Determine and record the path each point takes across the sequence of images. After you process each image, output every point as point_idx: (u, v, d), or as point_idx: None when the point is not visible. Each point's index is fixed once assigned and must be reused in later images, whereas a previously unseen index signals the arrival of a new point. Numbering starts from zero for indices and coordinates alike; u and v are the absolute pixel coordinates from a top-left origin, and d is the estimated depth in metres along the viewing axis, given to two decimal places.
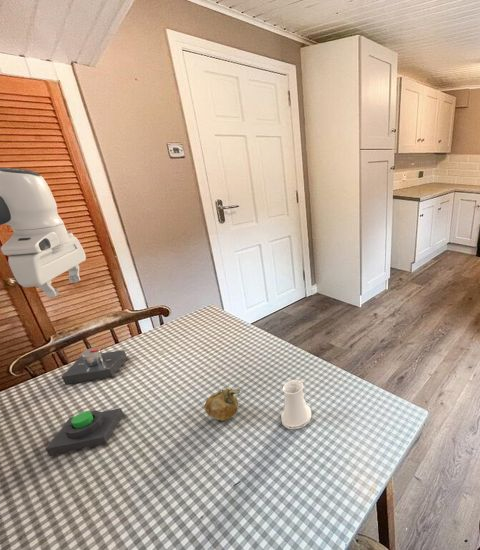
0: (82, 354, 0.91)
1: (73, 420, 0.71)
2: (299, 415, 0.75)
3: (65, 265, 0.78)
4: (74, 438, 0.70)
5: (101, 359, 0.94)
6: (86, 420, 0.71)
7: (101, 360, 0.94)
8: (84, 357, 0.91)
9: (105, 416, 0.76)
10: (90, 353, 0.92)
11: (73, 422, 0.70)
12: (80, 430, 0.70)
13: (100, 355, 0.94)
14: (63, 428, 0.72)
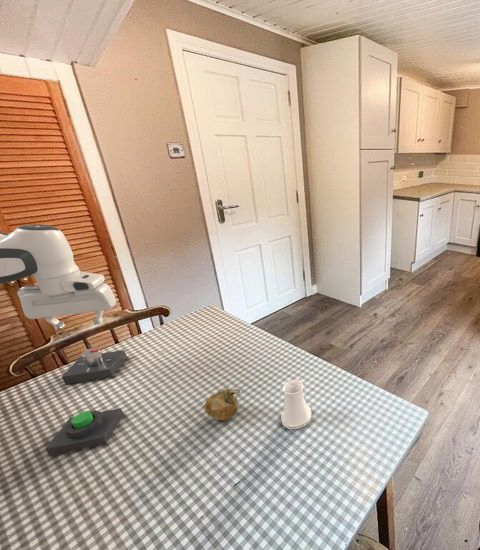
0: (82, 354, 0.91)
1: (73, 420, 0.71)
2: (299, 415, 0.75)
3: None
4: (74, 438, 0.70)
5: (101, 359, 0.94)
6: (86, 420, 0.71)
7: (101, 360, 0.94)
8: (84, 357, 0.91)
9: (105, 416, 0.76)
10: (90, 353, 0.92)
11: (73, 422, 0.70)
12: (80, 430, 0.70)
13: (100, 355, 0.94)
14: (63, 428, 0.72)
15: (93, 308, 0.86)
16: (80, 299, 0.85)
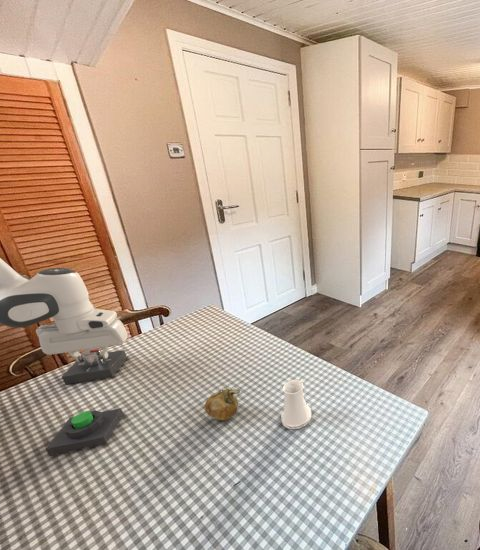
0: (82, 354, 0.91)
1: (73, 420, 0.71)
2: (299, 415, 0.75)
3: None
4: (74, 438, 0.70)
5: (101, 359, 0.94)
6: (86, 420, 0.71)
7: (101, 360, 0.94)
8: (84, 357, 0.91)
9: (105, 416, 0.76)
10: (90, 353, 0.92)
11: (73, 422, 0.70)
12: (80, 430, 0.70)
13: None
14: (63, 428, 0.72)
15: (106, 343, 0.91)
16: (94, 335, 0.90)
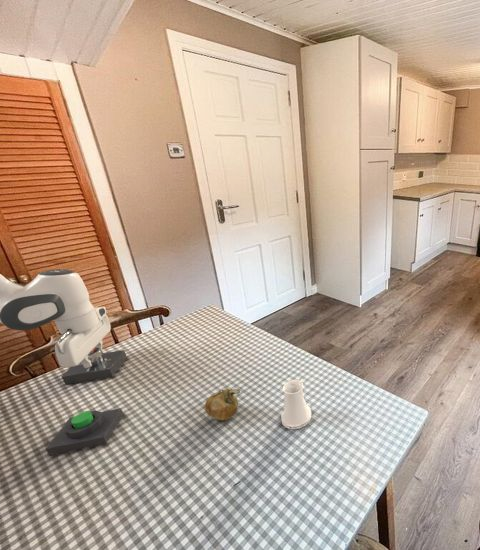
0: (91, 353, 0.91)
1: (73, 420, 0.71)
2: (299, 415, 0.75)
3: None
4: (74, 438, 0.70)
5: None
6: (86, 420, 0.71)
7: None
8: (97, 353, 0.93)
9: (105, 416, 0.76)
10: (95, 349, 0.93)
11: (73, 422, 0.70)
12: (80, 430, 0.70)
13: None
14: (63, 428, 0.72)
15: (104, 333, 0.97)
16: (96, 328, 0.94)
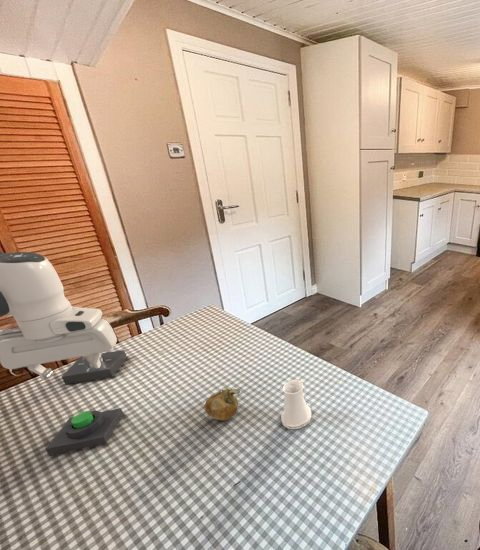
0: None
1: (73, 420, 0.71)
2: (299, 415, 0.75)
3: None
4: (74, 438, 0.70)
5: None
6: (86, 420, 0.71)
7: None
8: None
9: (105, 416, 0.76)
10: None
11: (73, 422, 0.70)
12: (80, 430, 0.70)
13: None
14: (63, 428, 0.72)
15: (90, 350, 0.71)
16: (73, 340, 0.69)
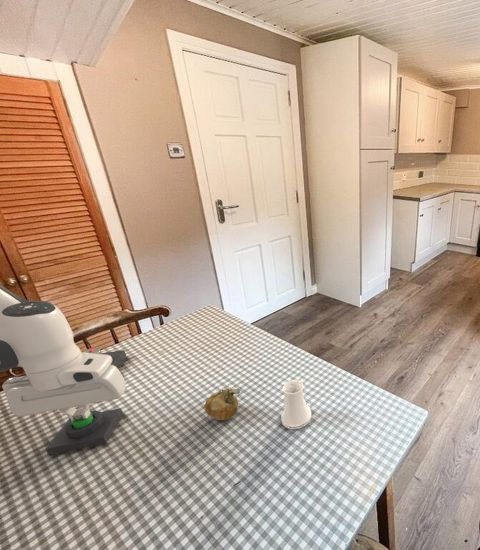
0: None
1: (73, 421, 0.71)
2: (299, 415, 0.75)
3: None
4: (74, 438, 0.70)
5: None
6: (86, 421, 0.71)
7: None
8: (97, 353, 0.93)
9: (105, 416, 0.76)
10: (95, 349, 0.93)
11: (73, 423, 0.70)
12: (80, 430, 0.70)
13: None
14: (63, 428, 0.72)
15: (98, 399, 0.69)
16: (82, 389, 0.68)
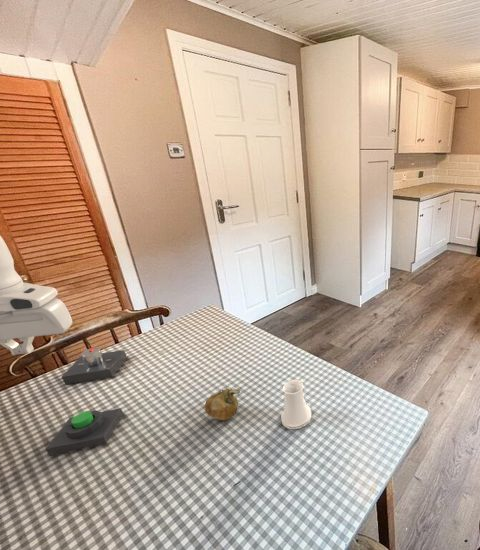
0: (91, 353, 0.91)
1: (73, 420, 0.71)
2: (299, 415, 0.75)
3: None
4: (74, 438, 0.70)
5: None
6: (86, 420, 0.71)
7: None
8: (97, 353, 0.93)
9: (105, 416, 0.76)
10: (95, 349, 0.93)
11: (73, 422, 0.70)
12: (80, 430, 0.70)
13: None
14: (63, 428, 0.72)
15: (40, 331, 0.66)
16: (22, 319, 0.65)
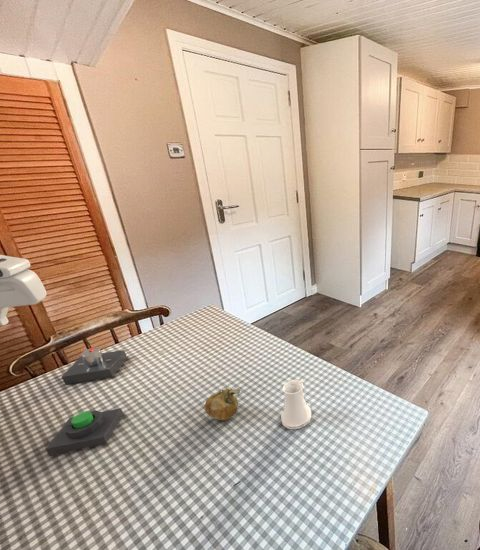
0: (91, 353, 0.91)
1: (73, 420, 0.71)
2: (299, 415, 0.75)
3: None
4: (74, 438, 0.70)
5: None
6: (86, 420, 0.71)
7: None
8: (97, 353, 0.93)
9: (105, 416, 0.76)
10: (95, 349, 0.93)
11: (73, 422, 0.70)
12: (80, 430, 0.70)
13: None
14: (63, 428, 0.72)
15: (12, 302, 0.66)
16: None
